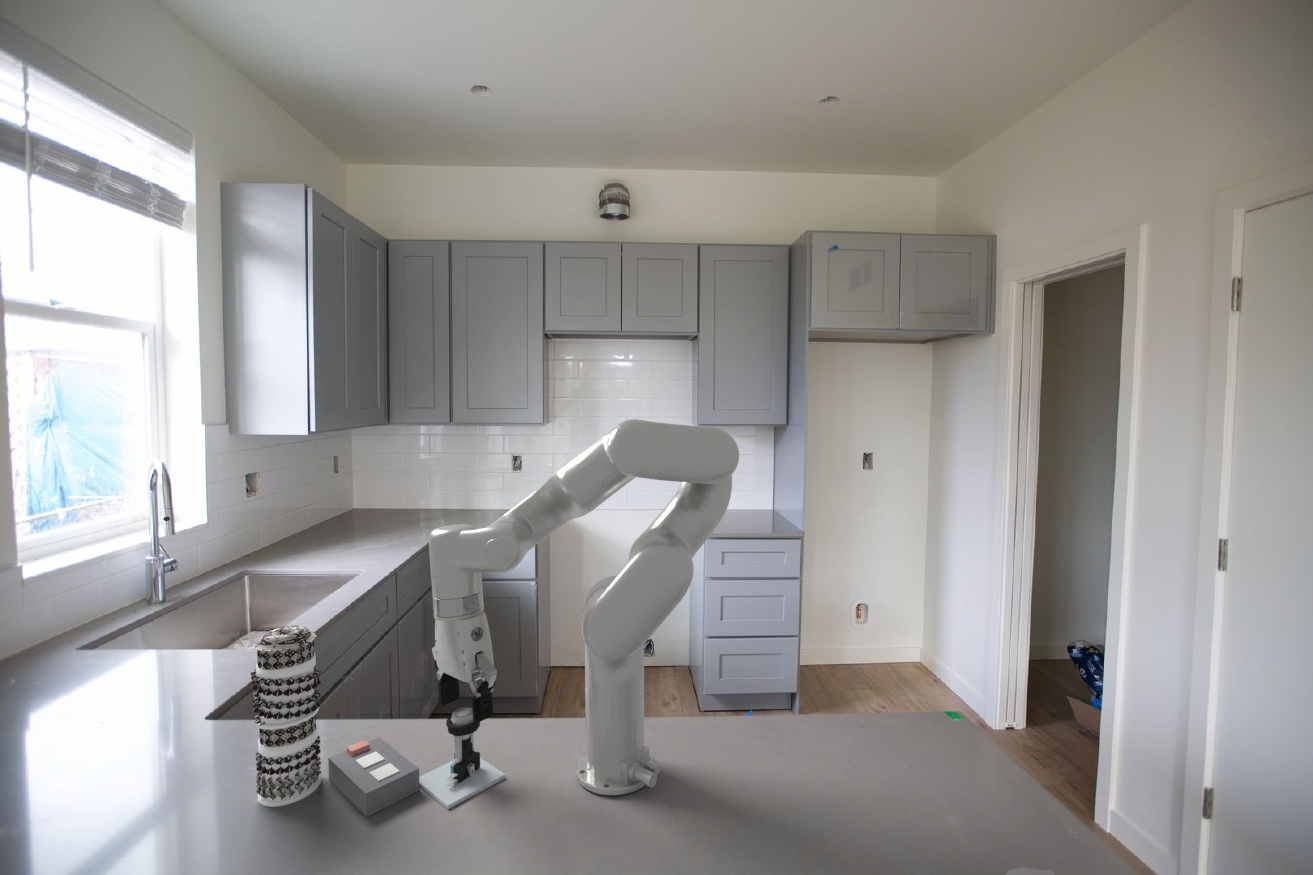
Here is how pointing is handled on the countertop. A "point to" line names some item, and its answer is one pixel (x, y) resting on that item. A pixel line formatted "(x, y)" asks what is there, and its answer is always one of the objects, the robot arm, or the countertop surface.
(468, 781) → the pale blue mat
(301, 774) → the decorative candle
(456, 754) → the push button
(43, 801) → the countertop surface
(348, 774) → the power strip
